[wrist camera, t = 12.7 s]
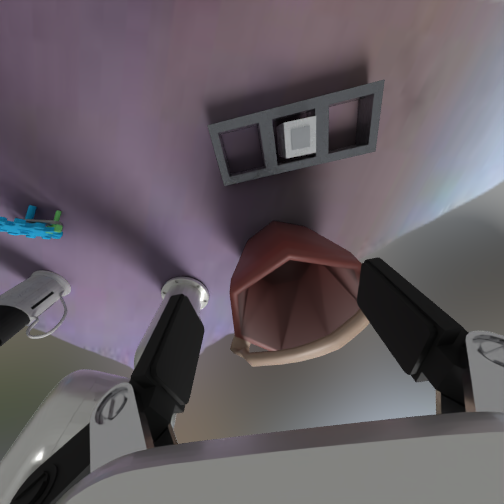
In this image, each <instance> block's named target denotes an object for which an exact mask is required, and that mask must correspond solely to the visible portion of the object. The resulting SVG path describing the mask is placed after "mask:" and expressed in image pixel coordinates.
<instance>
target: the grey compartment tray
mask: <svg viewBox="0 0 504 504" xmlns="http://www.w3.org/2000/svg"><path fill="white" fill-rule="evenodd" d="M384 81H385V80H381V81H377V82H373V83H369V84H365V85H361V86H358V87H354V88H350V89H346V90H342V91H338V92H334V93H330V94H327V95H323V96H319V97H315V98H311V99H307V100H303V101H300V102H296V103H292V104H288V105H284V106H280V107H276V108H273V109H269V110H265V111H261V112H257V113H253V114H249V115H246V116H242V117H238V118H234V119H230V120H226V121H222V122H218V123H215V124H211V125H207V126H208V129H209V133H210V137H211V140H212V144H213V147H214V151H215V155H216V158H217V162H218V165H219V169H220V173H221V176H222V180H223V183H224V186H227V185H231V184H235V183H240V182H244V181H248V180H253V179H257V178H261V177H266V176H270V175H274V174H279V173H283V172H288V171H292V170H296V169H301V168H305V167H309V166H314V165H318V164H322V163H327V162H331V161H336V160H340V159H344V158H349V157H353V156H357V155H362V154H366V153H370V152H375V151H376V143H377V135H378V127H379V120H380V112H381V104H382V96H383V88H384ZM355 100H359V107H358V120H357V133H356V145H352V146H348V147H344V148H339V149H335V150H331V151H328V133H329V107H331V106H335V105H339V104H343V103H347V102H351V101H355ZM303 113H307V118H308V117H313V116H316V153H311V154H309V156H305V157H301V158H297V159H292V160H288V161H284V162H279V163H277V157H276V148H275V140H274V132H273V124H272V121H276V120H280V119H284V118H288V117H292V116H296V115H299V114H303ZM256 125H257V126H258V132H259V138H260V145H261V151H262V157H263V163H264V166H262V167H258V168H254V169H250V170H245V171H241V172H237V173H233V174H231V173H230V169H229V165H228V161H227V157H226V153H225V149H224V145H223V141H222V137H221V134H224V133H228V132H232V131H236V130H240V129H244V128H248V127H252V126H256Z"/></svg>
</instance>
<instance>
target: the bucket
mask: <svg viewBox="0 0 504 504" xmlns="http://www.w3.org/2000/svg"><path fill="white" fill-rule="evenodd" d="M361 265H362V264H361V263H360V262H359V261H358V260H357V258H356V257H355V256H354V255H353V254H352V253H351V252H349V251H347V250H346V249H344V248H342V247H340V246H339V245H337V244H335V243H333V242H332V241H330V240H328V239H326V238H325V237H323V236H321V235H319V234H318V233H316V232H314V231H312V230H311V229H309V228H307V227H305V226H300V225H295V224H289V223H284V222H278V221H272V222H271V223H269V224H268V225H267V226H266V227H264V228H263V229H262V230H260V231H259V232H258V233H257V234H255V235H254V236H253V237H251V238H250V239H249V240H248V241H247V243H246V246H245V248H244V250H243V253H242V255H241V257H240V260H239V262H238V264H237V266H236V269H235V271H234V273H233V276H232V278H231V284H230V300H231V308H232V316H233V323H234V331H235V335H234V337H233V340H232V344H231V348H230V349H231V351H232V352H233V353H235V354H237V355H239V356H241V357H243V358H245V359H246V360H247V361H248V363H250V364H251V366H252V367H253V366H266V365H278V364H287V363H294V362H300V361H304V360H308V359H312V358H315V357H319V356H322V355H325V354H327V353H330V352H333V351H335V350H338V349H340V348H341V347H343V346H344V345H345V344H346V343H348V342H349V341H350V340H352V339H353V338H354V337H355V336H356V335H358V334H359V333H360V332H361V331H362V330H363V329H364V328H365V327H366V326H367V325H368V324H369V323H370V322H369V321H368V319H367V318H366V316H365V315H364V314H363V312H362V311H361V309H360V308H359V306H358V304H357V294H358V287H359V279H360V271H361ZM251 343H252V344H255V345H257V346H259V347H262V348H264V349H266V350H269V351H265V352H252V353H249V347H250V344H251Z"/></svg>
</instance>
